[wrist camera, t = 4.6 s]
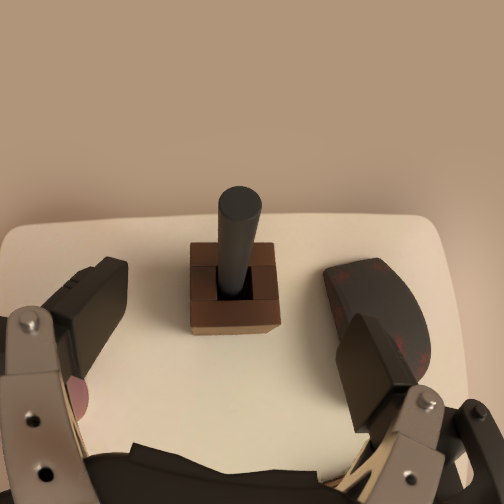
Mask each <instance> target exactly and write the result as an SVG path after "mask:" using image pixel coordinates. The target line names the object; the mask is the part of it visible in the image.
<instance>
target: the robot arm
mask: <svg viewBox="0 0 504 504" xmlns="http://www.w3.org/2000/svg"><path fill="white" fill-rule="evenodd" d="M127 289H128V263H127V262H126V261H123V260H119V259H115V258H112V257H105V258H104V259H103V260H102V261H101V262H100V263H98V264H97V265H96V266H95V267H91V266H90V267H88V268H85V269H83V270H80V271H78V272H77V273H76V274H75V275H74V276H73V277H72V278H71V279H70V281H69V280H68V281H67V282H66V283H65V284H64V285H63V287H61V288H60V289H59V290H58V291H56V292H55V293H54V294H53V295H52V296H51V297H50V298H49V299H48V300H47V301H46V302H45V303H44V304H43V305H42V306H41V307H38V306H26V307H22V308H19V309H17V310H15V311H14V312H13V313H12V314H11V315H10V316H9V317H2V316H0V432H1V440H2V447H3V454H4V460H5V465H6V470H7V475H8V480H9V484H10V488H11V489H9V490H6V491H3V492H1V493H0V504H504V439H503V437H502V434H501V432H500V430H499V428H498V426H497V424H496V423H495V421H494V419H493V417H492V415H491V413H490V411H489V410H488V409H487V407H486V406H485V405H484V404H483V403H481V402H479V401H477V400H475V399H468V400H466V401H465V402H464V403H463V404H462V406H461V407H460V408H459V409H453V408H449V407H445V406H444V402H443V400H442V398H441V397H440V396H439V394H438V393H437V392H435V391H434V390H433V389H431V388H429V387H427V386H424V385H418V383H417V381H416V379H415V377H414V375H413V373H412V371H411V369H410V367H409V366H408V364H407V362H406V360H404V356H403V354H402V353H401V352H400V349H399V347H398V345H397V343H396V342H395V340H394V339H393V338H392V337H391V336H390V335H389V334H388V333H387V332H386V331H384V329H383V327H382V325H381V323H380V322H379V320H378V318H377V317H376V316H371V315H365V314H360V313H356V314H355V315H354V316H353V318H352V319H351V322H350V324H349V326H348V328H347V330H346V332H345V334H344V336H343V338H342V340H341V342H340V344H339V346H338V349H337V353H336V364H337V367H338V371H339V374H340V378H341V381H342V385H343V389H344V392H345V396H346V400H347V403H348V407H349V411H350V415H351V419H352V422H353V426H354V430H355V433H369V435H370V438H369V439H368V440H367V441H366V442H365V443H364V445H363V447H362V449H361V451H360V452H359V454H358V456H357V457H356V459H355V461H354V462H353V464H352V466H351V467H350V469H349V471H348V472H347V474H346V475H345V477H344V478H343V480H342V481H341V482H340V484H339V485H338V486H337V487H336V488H333V487H331V486H328V485H324V484H321V483H318V479H317V471H292V470H275V469H274V470H267V471H259V472H250V473H240V474H224V473H220V472H218V471H215V470H213V469H210V468H208V467H205V466H203V465H200V464H198V463H196V462H193V461H191V460H189V459H186V458H184V457H182V456H180V455H177V454H173V453H169V452H165V451H161V450H157V449H154V448H150V447H147V446H143V445H140V444H137V443H134V442H133V444H132V447H131V450H130V453H123V452H112V453H101V454H96V455H91V456H89V455H88V452H87V450H86V447H85V444H84V442H83V439H82V436H81V433H80V430H79V427H78V423H77V420H76V416H75V413H74V409H73V405H72V402H71V398H70V394H69V389H68V386H67V381H68V380H69V378H70V377H71V375H72V376H74V377H76V378H79V379H81V380H84V378H85V376H86V375H87V373H88V371H89V370H90V368H91V366H92V365H93V363H94V361H95V360H96V358H97V356H98V355H99V353H100V352H101V350H102V348H103V347H104V345H105V344H106V342H107V341H108V339H109V337H110V336H111V334H112V333H113V331H114V330H115V328H116V327H117V325H118V323H119V322H120V320H121V319H122V317H123V315H124V313H125V310H126V306H127ZM465 451H466V453H467V455H468V458H469V460H470V463H471V466H472V468H473V471H474V477H473V480H472V482H471V483H470V485H469V486H467V487H466V488H465V489H463V486H462V483H461V480H460V477H459V474H458V471H457V468H456V465H455V463H454V461H455V460H456V459H458V458H459V457H460V456H461V455H462V454H463V453H464V452H465Z"/></svg>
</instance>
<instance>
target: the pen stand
mask: <svg viewBox="0 0 504 504" xmlns="http://www.w3.org/2000/svg"><path fill="white" fill-rule="evenodd" d="M275 265H276V262H275V252H274V243H253V247H252V251H251V255H250V259H249V264H248V268H247V272H246V276H245V280H244V285H243V300H227V301H217V285H218V243H190V323H191V329H192V332H193V334H194V335H238V334H260V333H267V332H269V331H271V330H273V329H274V328H276V327H278V326H279V325H281V317H280V305H279V293H278V282H277V271H276V266H275Z"/></svg>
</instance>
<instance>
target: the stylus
mask: <svg viewBox="0 0 504 504" xmlns="http://www.w3.org/2000/svg"><path fill="white" fill-rule="evenodd" d="M261 209H262V202H261V199H260V197H259V195H258V194H257V193H256V192H255V191H253V190H252V189H250V188H247V187H243V186H235V187H231V188H229V189H227V190H226V191H224V192H223V194H222V195H221V196H220V198H219V203H218V298H219V301H227V300H240V297H241V293H242V289H243V285H244V280H245V276H246V272H247V268H248V264H249V259H250V255H251V251H252V247H253V243H254V238H255V234H256V230H257V226H258V221H259V217H260V213H261Z"/></svg>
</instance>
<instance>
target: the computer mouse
mask: <svg viewBox="0 0 504 504" xmlns="http://www.w3.org/2000/svg"><path fill="white" fill-rule="evenodd" d="M323 276H324V280H325V284H326V289H327V293H328V297H329V301H330V305H331V309H332V312H333V316H334V320H335V324H336V328H337V331H338V335H339V339H340V342H341V340H342V338H343V336H344V334H345V332H346V330H347V328H348V326H349V324H350V322H351V319H352V318H353V316H354V315H355V314H356V313H360V314H365V315H371V316H376V317H377V318H378V320H379V322H380V323H381V325H382V327H383V329H384V331H386V332H387V333H388V334H389V335H390V336H391V337H392V338H393V339H394V340H395V342H396V343H397V345H398V347H399V349H400V352H401V353H402V354H403V356H404V360H406V362H407V364H408V366H409V367H410V369H411V371H412V373H413V375H414V377H415V379H416V381H417V382H418V381H419V380H420V379H421V378H422V377H423V376H424V374H425V373H426V371H427V369H428V366H429V363H430V358H431V343H430V337H429V332H428V328H427V325H426V322H425V319H424V316H423V314H422V311H421V309H420V307H419V305H418V303H417V301H416V299H415V297H414V295H413V294H412V292H411V291H410V289H409V288H408V287H407V285H406V284H405V283H404V282H403V280H402V279H401V278H400V277H399V276H398V275H397V274H396V273H395V272H394V271H393V270H392V269H391V268H390V267H389V266H388V265H387V264H386V263H385V262H384V261H383V260H381V259H380V258H372V259H367V260H362V261H357V262H352V263H348V264H344V265H340V266H335V267H331V268H328V269H325V270H324V272H323Z"/></svg>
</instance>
